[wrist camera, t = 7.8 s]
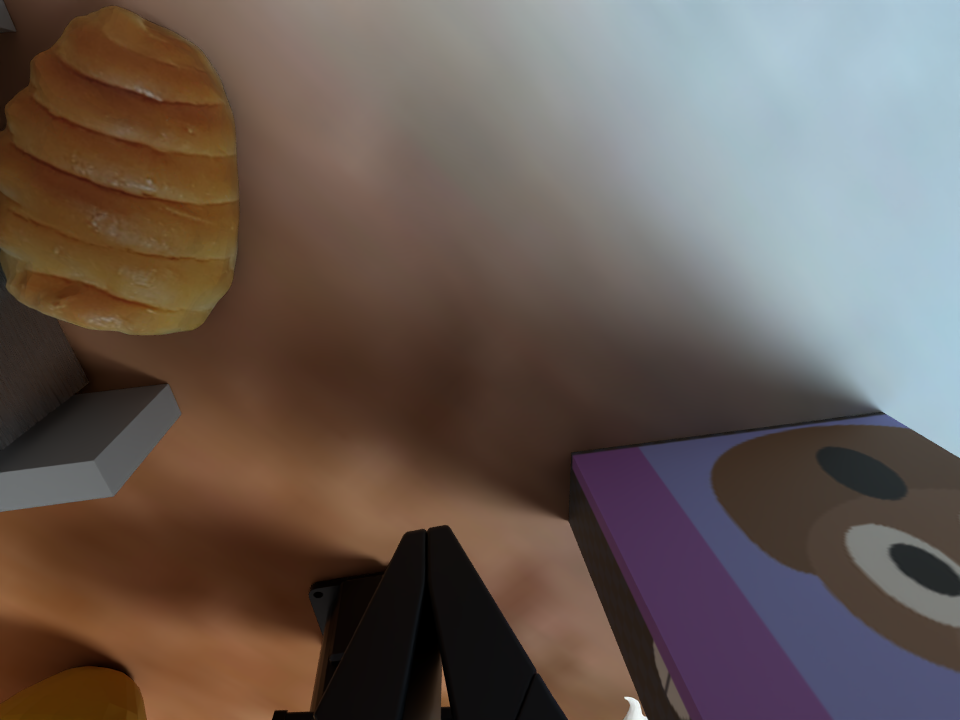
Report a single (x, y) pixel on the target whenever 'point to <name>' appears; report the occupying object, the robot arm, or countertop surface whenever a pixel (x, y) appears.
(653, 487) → the cereal box
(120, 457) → the white grey open box
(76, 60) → the pastry
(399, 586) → the robot arm
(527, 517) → the countertop surface
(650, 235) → the countertop surface
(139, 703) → the apple
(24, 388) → the gauge pad
